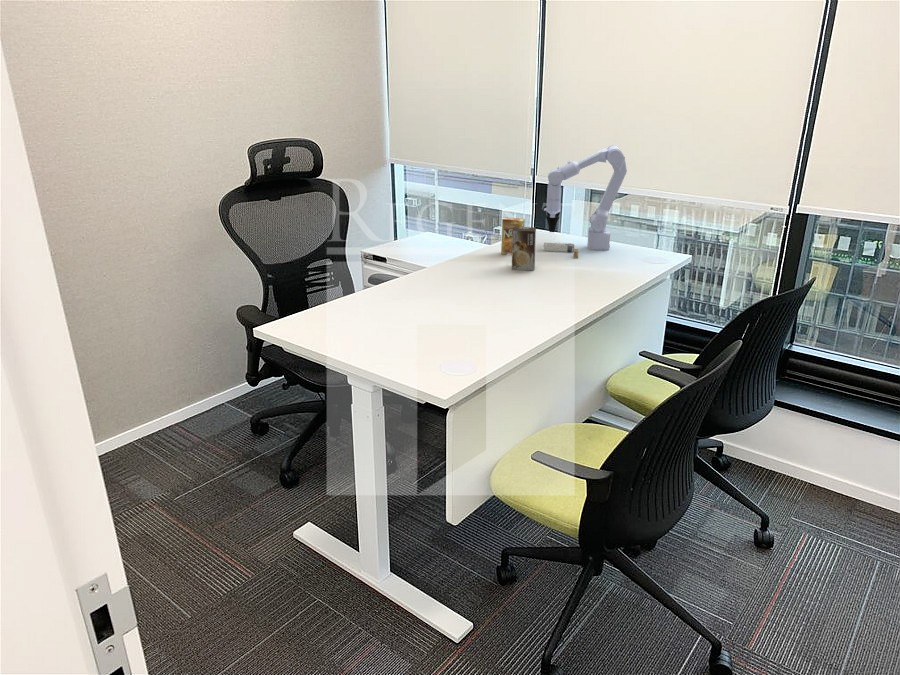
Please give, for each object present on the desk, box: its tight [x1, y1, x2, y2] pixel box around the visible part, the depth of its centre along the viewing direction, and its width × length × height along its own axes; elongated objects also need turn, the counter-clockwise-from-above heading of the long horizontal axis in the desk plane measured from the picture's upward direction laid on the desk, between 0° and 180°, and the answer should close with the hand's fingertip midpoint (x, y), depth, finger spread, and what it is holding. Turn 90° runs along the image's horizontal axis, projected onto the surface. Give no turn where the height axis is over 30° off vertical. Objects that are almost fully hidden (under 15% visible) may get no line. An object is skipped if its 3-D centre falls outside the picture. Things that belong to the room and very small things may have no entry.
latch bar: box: [543, 242, 575, 253], centre depth 302 cm, size 13×4×3 cm, turn 80°
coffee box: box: [511, 226, 537, 271], centre depth 282 cm, size 9×6×16 cm
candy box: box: [500, 216, 526, 255], centre depth 300 cm, size 9×4×15 cm, turn 70°
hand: (552, 230), depth 306 cm, fingers open, 5 cm apart
